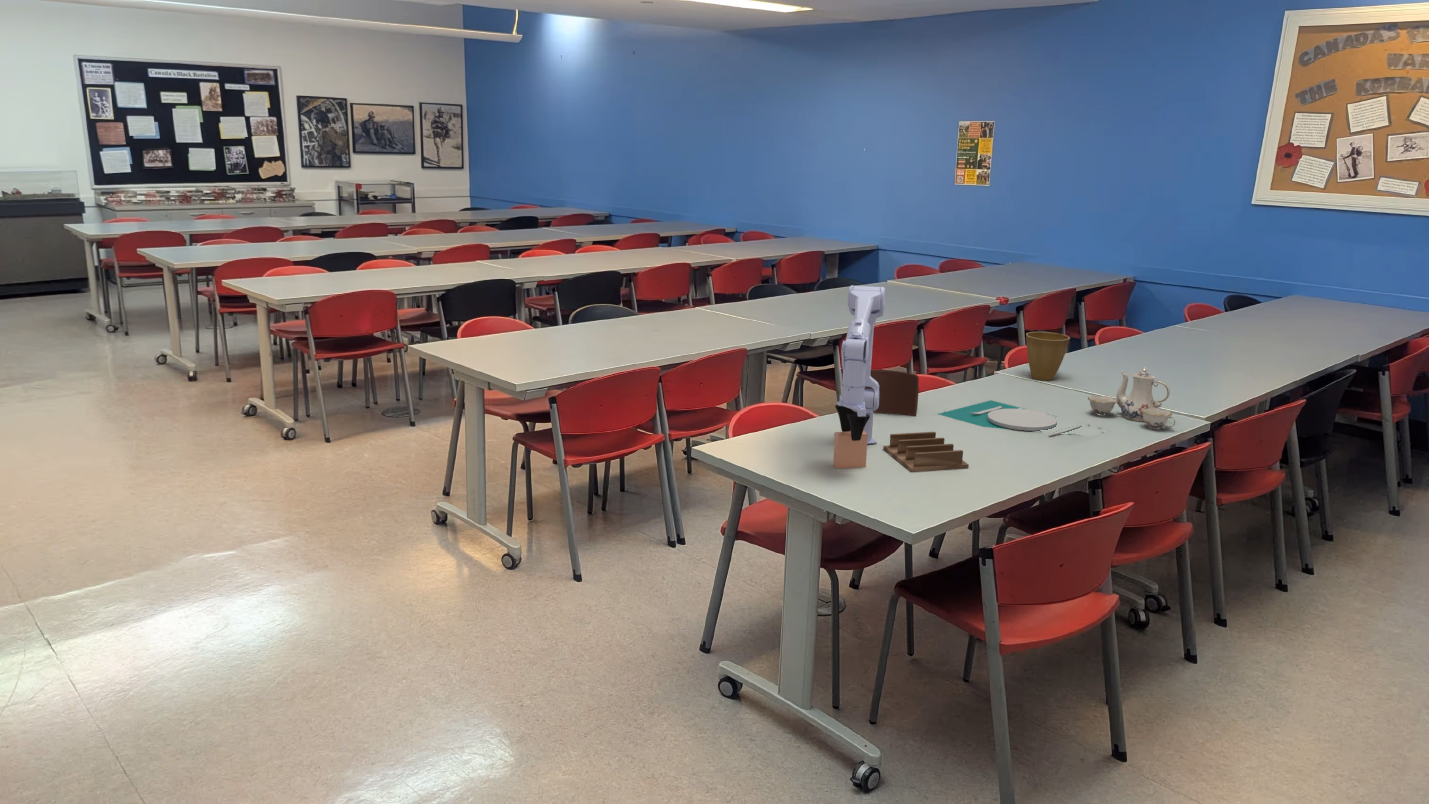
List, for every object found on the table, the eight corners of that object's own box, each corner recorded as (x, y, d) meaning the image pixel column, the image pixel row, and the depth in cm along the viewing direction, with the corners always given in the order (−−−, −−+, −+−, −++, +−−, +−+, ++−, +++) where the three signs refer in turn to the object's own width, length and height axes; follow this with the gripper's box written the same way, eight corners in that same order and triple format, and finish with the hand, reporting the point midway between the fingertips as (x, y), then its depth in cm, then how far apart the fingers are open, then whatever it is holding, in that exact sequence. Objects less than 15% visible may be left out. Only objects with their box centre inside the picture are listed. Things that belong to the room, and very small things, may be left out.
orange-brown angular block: (833, 464, 241) (834, 432, 238) (861, 463, 242) (863, 430, 240) (836, 468, 238) (838, 435, 236) (865, 466, 240) (867, 434, 237)
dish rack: (883, 449, 254) (884, 433, 253) (937, 445, 257) (938, 430, 256) (911, 471, 236) (912, 455, 235) (968, 468, 239) (969, 451, 238)
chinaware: (1077, 419, 290) (1080, 369, 284) (1102, 405, 300) (1106, 356, 295) (1167, 439, 270) (1172, 386, 264) (1191, 423, 280) (1197, 372, 275)
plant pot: (1021, 381, 330) (1026, 337, 326) (1022, 372, 344) (1026, 330, 340) (1065, 384, 326) (1070, 340, 322) (1064, 375, 340) (1069, 333, 335)
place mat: (931, 416, 289) (931, 409, 288) (989, 401, 307) (990, 394, 306) (1059, 452, 255) (1060, 445, 254) (1117, 433, 273) (1118, 426, 272)
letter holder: (916, 416, 286) (919, 372, 282) (852, 412, 290) (854, 368, 287) (917, 408, 295) (920, 365, 291) (855, 404, 300) (857, 362, 296)
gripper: (829, 379, 240) (827, 428, 244) (848, 392, 227) (845, 445, 230) (854, 378, 242) (852, 427, 245) (875, 391, 228) (872, 443, 232)
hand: (850, 435), depth 238 cm, fingers open, 7 cm apart
